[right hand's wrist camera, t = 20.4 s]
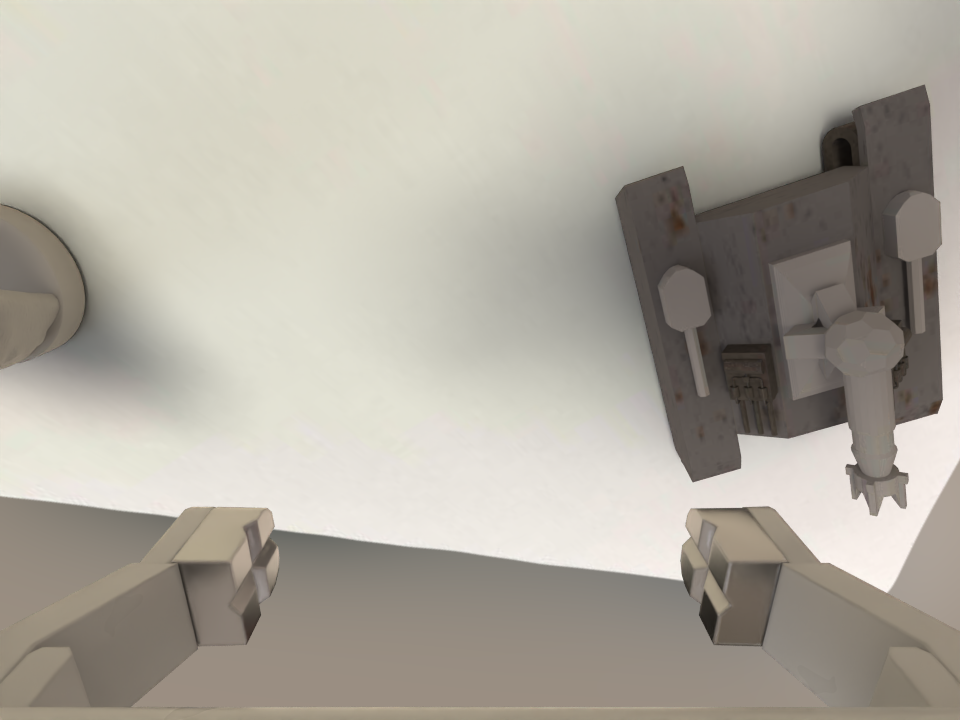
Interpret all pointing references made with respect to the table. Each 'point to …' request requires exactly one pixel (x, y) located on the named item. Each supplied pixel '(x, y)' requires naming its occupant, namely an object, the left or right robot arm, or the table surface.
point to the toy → (799, 299)
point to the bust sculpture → (35, 289)
